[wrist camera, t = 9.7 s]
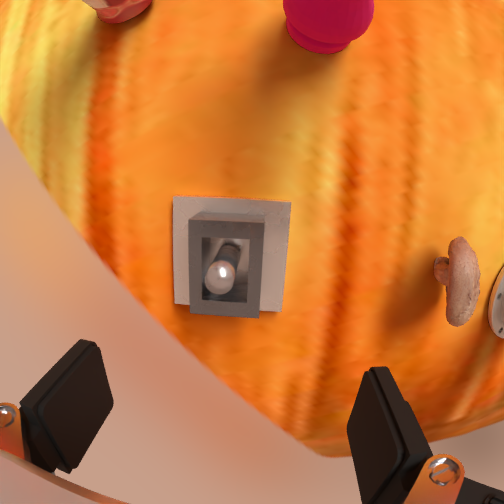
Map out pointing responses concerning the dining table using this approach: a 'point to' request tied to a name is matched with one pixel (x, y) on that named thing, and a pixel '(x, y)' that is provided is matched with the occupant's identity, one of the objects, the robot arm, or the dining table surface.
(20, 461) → the robot arm
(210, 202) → the keeper
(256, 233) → the grey rectangular frame
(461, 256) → the mushroom
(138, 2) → the liquor
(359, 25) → the pepper mill
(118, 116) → the dining table surface
